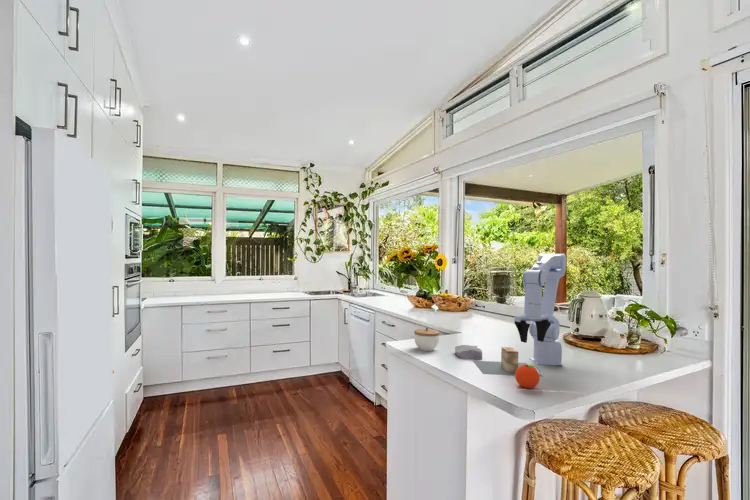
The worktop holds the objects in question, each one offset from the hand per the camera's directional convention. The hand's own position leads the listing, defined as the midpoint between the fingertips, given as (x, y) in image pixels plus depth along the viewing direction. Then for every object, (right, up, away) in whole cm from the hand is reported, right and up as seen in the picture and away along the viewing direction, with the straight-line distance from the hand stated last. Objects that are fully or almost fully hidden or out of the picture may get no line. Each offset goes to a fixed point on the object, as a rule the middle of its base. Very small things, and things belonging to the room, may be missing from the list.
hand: (532, 341), depth 130 cm
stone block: (-19, -11, +18) cm, 28 cm away
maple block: (-8, -10, 0) cm, 13 cm away
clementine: (-9, -10, -18) cm, 22 cm away
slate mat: (-9, -10, +1) cm, 14 cm away
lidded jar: (-34, -10, +26) cm, 44 cm away
